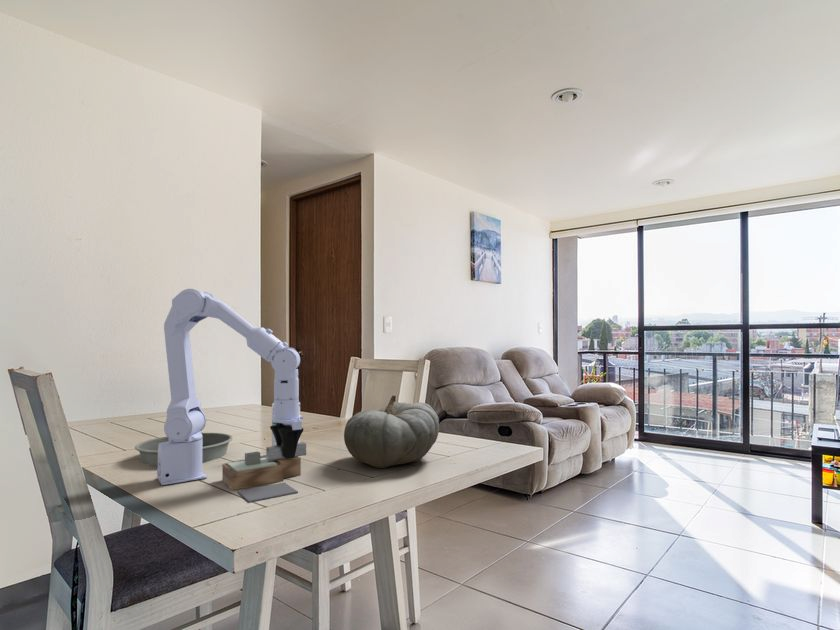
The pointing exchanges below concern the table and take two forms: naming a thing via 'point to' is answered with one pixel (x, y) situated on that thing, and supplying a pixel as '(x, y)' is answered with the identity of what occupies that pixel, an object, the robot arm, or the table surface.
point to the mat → (267, 492)
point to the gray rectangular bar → (278, 452)
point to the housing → (262, 474)
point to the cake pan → (211, 447)
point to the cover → (251, 463)
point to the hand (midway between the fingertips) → (286, 456)
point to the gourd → (392, 434)
